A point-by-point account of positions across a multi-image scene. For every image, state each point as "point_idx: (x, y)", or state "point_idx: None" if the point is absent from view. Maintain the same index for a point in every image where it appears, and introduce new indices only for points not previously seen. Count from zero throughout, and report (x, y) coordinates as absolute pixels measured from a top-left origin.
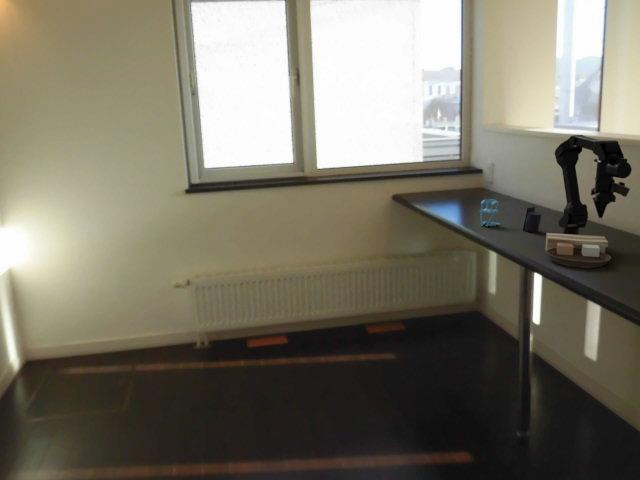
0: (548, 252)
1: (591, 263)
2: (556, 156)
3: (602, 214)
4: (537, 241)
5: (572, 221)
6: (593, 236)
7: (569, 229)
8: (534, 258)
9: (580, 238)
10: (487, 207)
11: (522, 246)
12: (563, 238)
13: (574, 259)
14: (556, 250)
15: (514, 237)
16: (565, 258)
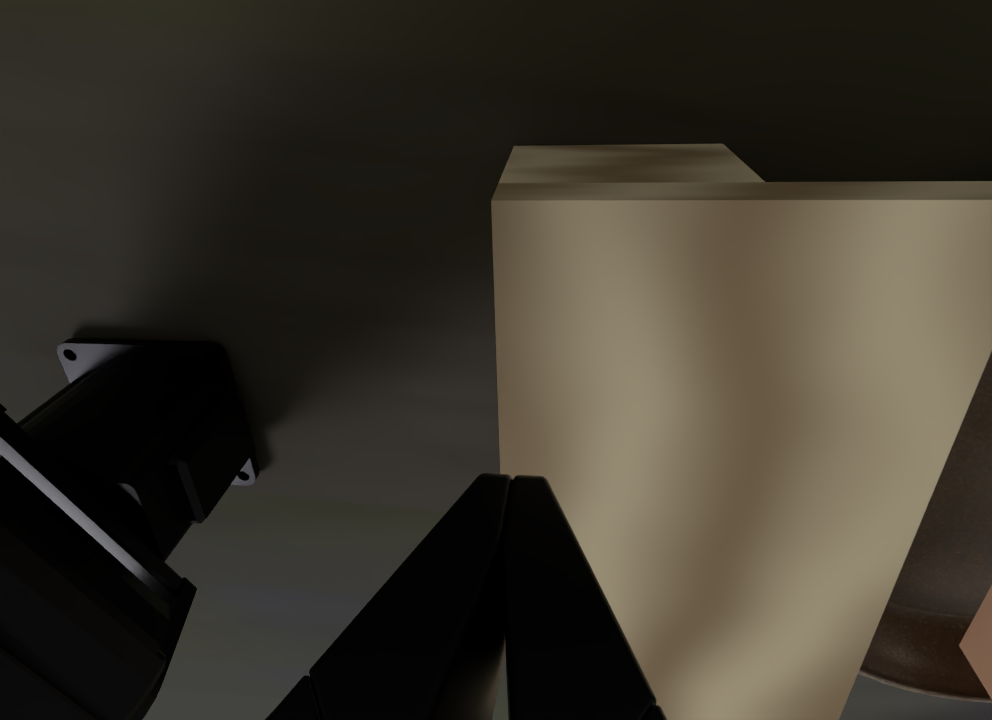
0: (911, 667)
1: None
2: None
3: (579, 563)
4: (280, 619)
5: (163, 632)
6: (563, 357)
7: (167, 540)
8: (906, 692)
9: (751, 520)
10: None
11: (505, 708)
12: (778, 663)
13: (969, 464)
14: (965, 651)
15: (224, 715)
16: (933, 526)
